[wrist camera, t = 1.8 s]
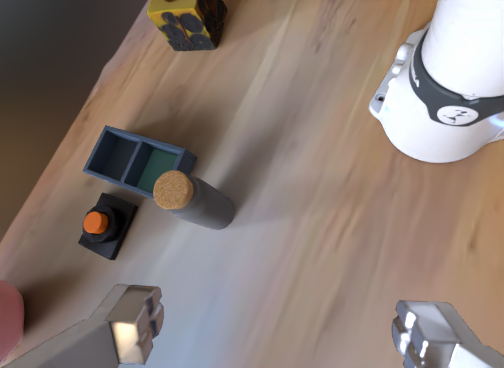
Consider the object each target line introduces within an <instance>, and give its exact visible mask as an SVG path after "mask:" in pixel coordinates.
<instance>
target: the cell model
mask: <svg viewBox="0 0 504 368" xmlns="http://www.w3.org/2000/svg"><path fill="white" fill-rule="evenodd" d="M23 324H24V301H23V298H22V296H21V294H20V292H19V291H18V290H17V289H16V288H15V287H14V286H12V285H11V284H9V283H7V282H6V281H3V280H1V279H0V365H1V364H2V363H3V362H4V361H5V360H6V359H7V358H8V357H9V356H10V354H11V353H12V352H13V351H14V349H15V348H16V347H17V346H18V345H19V344H20V342H21V341H22V339H23V335H24V325H23Z"/></svg>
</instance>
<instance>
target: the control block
mask: <svg viewBox="0 0 504 368" xmlns="http://www.w3.org/2000/svg"><path fill="white" fill-rule="evenodd" d="M137 209H138V206H136V205H133V204H131V203H128V202H126V201H123V200H121V199H118V198H116V197H113V196H111V195H108V194H106V193H102V194H101V196H100V198H99V200H98V202H97V204H96V206H95V207H93V208H92V209H91V210H90V211H89V212H88V213H87V214H86V216H87V215H88V214H89V213H91V212H99V213H103V214H105V215H107V217H108V226H107V228H106V230H105V231H104V232H102V233H100V234H95V233H88V232H87V231H86V230H85V229H84V221H83V234H82V236H81V238H80V240H79V242H78V244H80V245H82V246H84V247H86V248H88V249H90V250H92V251H94V252H96V253H98V254H99V255H101V256H103V257H105V258H107V259H109V260H115V258H116V256H117V254H118V251H119V249H120V247H121V245H122V243H123V240H124V238H125V236H126V234H127V232H128V229H129V227H130V225H131V223H132V220H133V218H134V216H135V214H136V212H137ZM85 218H86V217H85ZM84 220H85V219H84Z"/></svg>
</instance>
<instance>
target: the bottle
mask: <svg viewBox="0 0 504 368" xmlns="http://www.w3.org/2000/svg"><path fill="white" fill-rule="evenodd" d="M153 195H154V199H155V201H156V203H157V204H158V205H159V206H160V207H162V208H165V209H166V210H168V211H169V212H171V213H174V214H175V215H176V216H177V217H178V218H180V219H183V220H186V221H189V222H192V223H195V224H198V225H201V226H204V227H207V228H211V229H216V230H218V229H222V228H225V227H226V226H228V225H229V224H230V223H231V221H232V219H233V217H234V212H235V210H234V205H233V203H232V201H231V200H230V199H229V198H228V197H227V196H225V195H224V194H222V193H221V192H219V191H218V190H216V189H215V188H213V187H212V186H210V185H209V184H207V183H206V182H204V181H203V180H201V179H199V178H196V177H192V176H190V175H188V174H184V173H182V172H180V171H177V170H171V171H168V172H165V173H164V174H162V175H161V176H160V177H159V178H158V180H157V181H156V183H155V186H154V190H153Z"/></svg>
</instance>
